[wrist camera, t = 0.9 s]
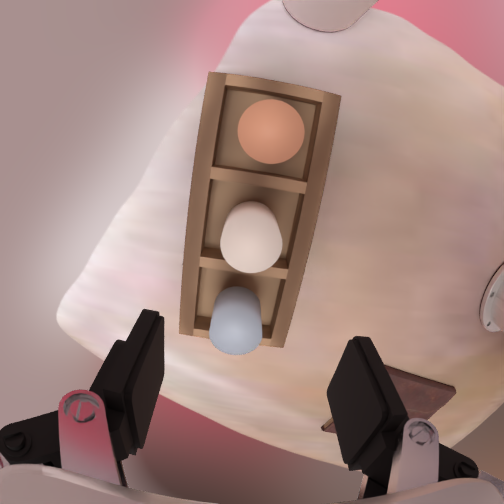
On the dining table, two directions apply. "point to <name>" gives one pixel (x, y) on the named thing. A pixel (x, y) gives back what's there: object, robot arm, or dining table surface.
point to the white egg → (251, 238)
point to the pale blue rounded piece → (236, 321)
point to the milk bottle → (328, 12)
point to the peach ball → (271, 131)
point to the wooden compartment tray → (253, 189)
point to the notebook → (414, 395)
